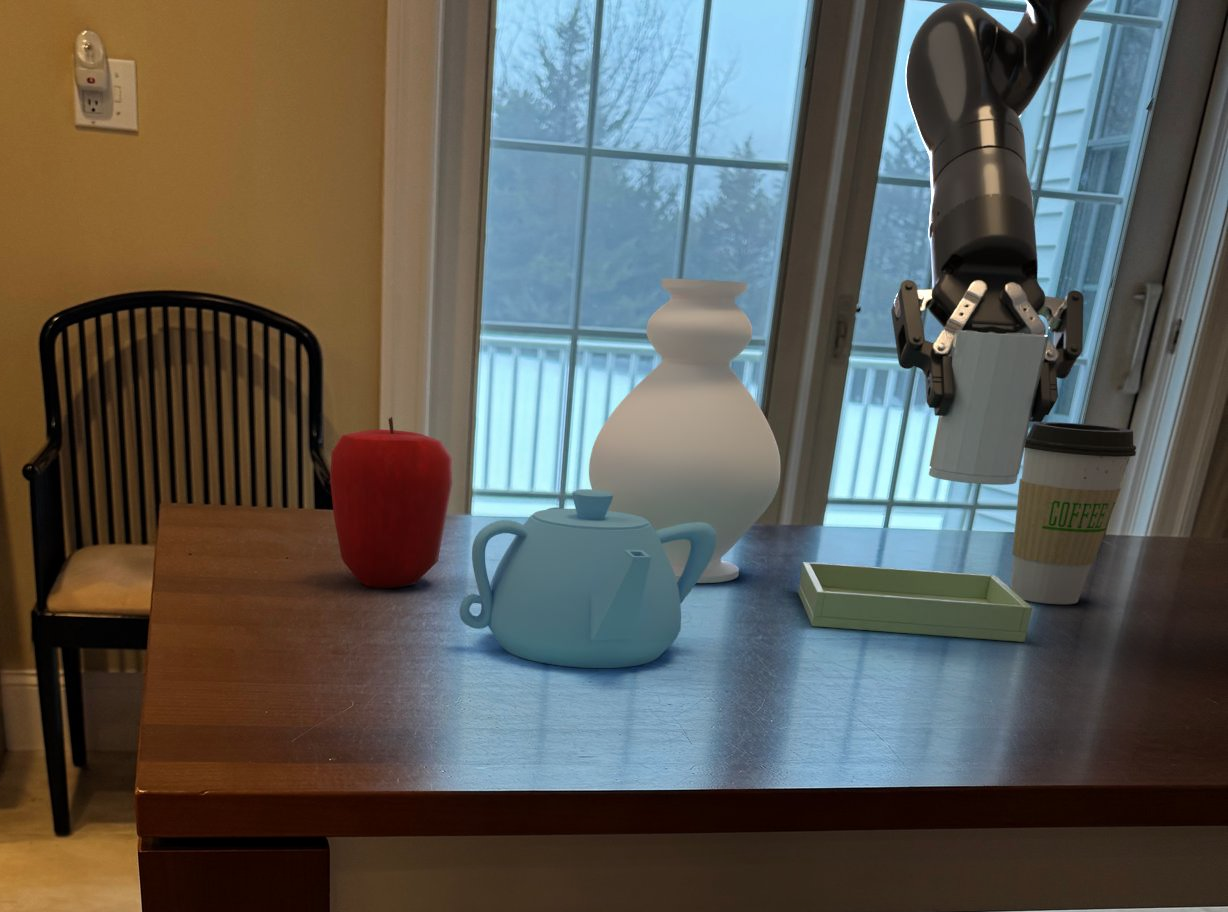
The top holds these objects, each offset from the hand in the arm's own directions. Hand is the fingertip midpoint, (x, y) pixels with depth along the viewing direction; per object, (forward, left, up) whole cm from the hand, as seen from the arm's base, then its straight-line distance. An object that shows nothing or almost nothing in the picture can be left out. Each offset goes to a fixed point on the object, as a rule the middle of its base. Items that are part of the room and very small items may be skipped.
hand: (993, 410), depth 102 cm
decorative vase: (+21, -26, -18) cm, 38 cm away
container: (0, -2, -5) cm, 5 cm away
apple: (+46, -10, -18) cm, 51 cm away
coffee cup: (-14, -26, -18) cm, 34 cm away
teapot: (+28, +9, -18) cm, 34 cm away
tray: (+1, -12, -17) cm, 21 cm away
